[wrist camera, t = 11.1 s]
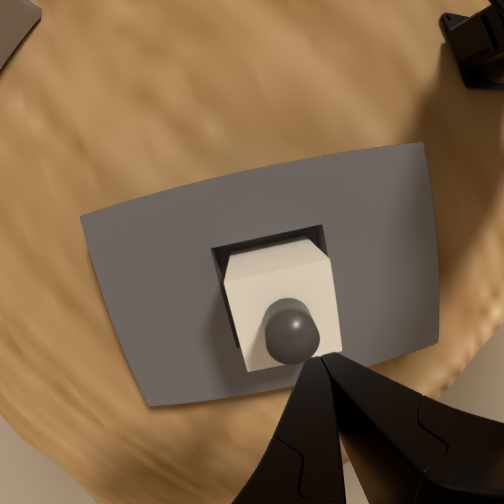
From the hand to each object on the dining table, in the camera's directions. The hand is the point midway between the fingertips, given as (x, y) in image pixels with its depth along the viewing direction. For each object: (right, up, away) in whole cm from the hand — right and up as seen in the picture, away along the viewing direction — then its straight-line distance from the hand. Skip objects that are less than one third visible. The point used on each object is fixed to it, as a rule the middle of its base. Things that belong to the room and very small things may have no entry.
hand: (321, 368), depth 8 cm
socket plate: (0, +2, +12) cm, 12 cm away
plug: (0, +1, +11) cm, 11 cm away
